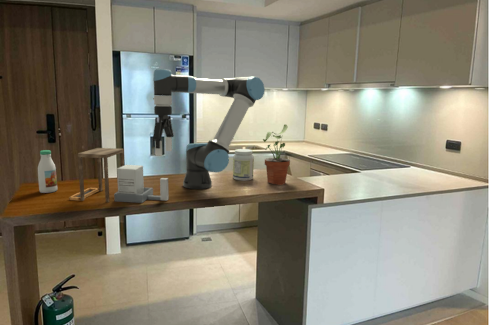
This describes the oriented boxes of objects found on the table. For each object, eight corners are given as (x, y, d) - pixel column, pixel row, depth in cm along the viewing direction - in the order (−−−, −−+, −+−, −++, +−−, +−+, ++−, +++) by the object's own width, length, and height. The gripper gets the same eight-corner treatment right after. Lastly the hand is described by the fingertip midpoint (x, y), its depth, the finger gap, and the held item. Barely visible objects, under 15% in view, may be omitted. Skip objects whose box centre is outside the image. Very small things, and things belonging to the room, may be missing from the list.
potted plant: (272, 178, 212) (274, 119, 206) (293, 182, 202) (297, 121, 196) (255, 182, 201) (257, 120, 194) (277, 187, 191) (280, 122, 184)
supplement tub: (240, 175, 218) (241, 148, 215) (257, 178, 211) (258, 150, 208) (228, 178, 208) (228, 150, 205) (245, 182, 201) (246, 152, 198)
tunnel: (125, 192, 175) (123, 148, 171) (108, 202, 158) (105, 154, 154) (100, 190, 176) (98, 147, 172) (80, 200, 159) (77, 153, 155)
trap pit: (99, 190, 176) (99, 188, 176) (79, 200, 159) (79, 198, 159) (89, 190, 176) (89, 187, 176) (69, 199, 160) (68, 197, 160)
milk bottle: (39, 193, 168) (35, 152, 164) (39, 190, 175) (36, 149, 171) (57, 192, 171) (54, 151, 168) (57, 188, 178) (54, 149, 174)
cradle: (172, 196, 170) (171, 175, 168) (162, 204, 157) (162, 182, 155) (127, 193, 172) (126, 173, 170) (114, 201, 160) (113, 179, 158)
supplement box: (126, 195, 170) (125, 164, 167) (144, 196, 169) (143, 165, 166) (117, 200, 161) (116, 168, 158) (136, 201, 160) (135, 169, 157)
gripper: (164, 104, 168) (165, 148, 172) (143, 106, 144) (145, 157, 148) (179, 105, 168) (180, 149, 172) (161, 106, 143) (162, 158, 147)
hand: (163, 153), depth 160 cm, fingers open, 13 cm apart
